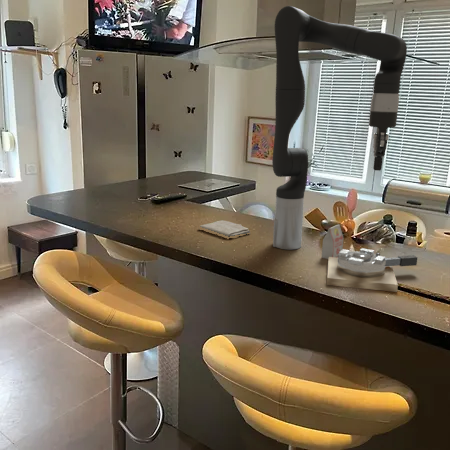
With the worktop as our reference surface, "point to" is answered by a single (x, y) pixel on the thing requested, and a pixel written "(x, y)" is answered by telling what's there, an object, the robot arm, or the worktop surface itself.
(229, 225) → the washcloth
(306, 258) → the worktop surface
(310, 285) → the worktop surface
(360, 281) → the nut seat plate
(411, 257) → the grey frying pan
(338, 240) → the white carton
